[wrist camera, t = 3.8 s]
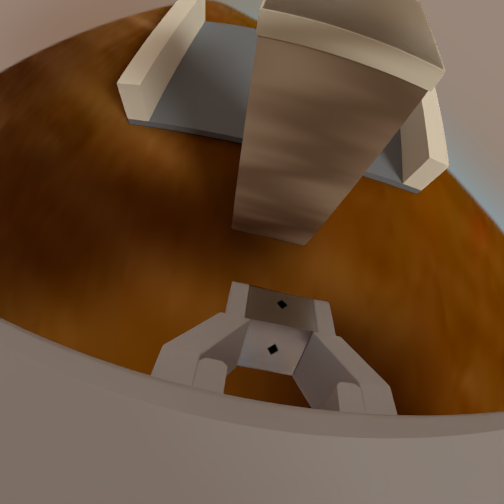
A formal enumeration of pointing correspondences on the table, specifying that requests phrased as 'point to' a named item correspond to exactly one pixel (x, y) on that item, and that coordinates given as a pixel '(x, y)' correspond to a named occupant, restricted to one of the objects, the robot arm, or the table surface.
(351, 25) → the walnut block
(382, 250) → the table surface
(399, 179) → the rubber mat with end rails
